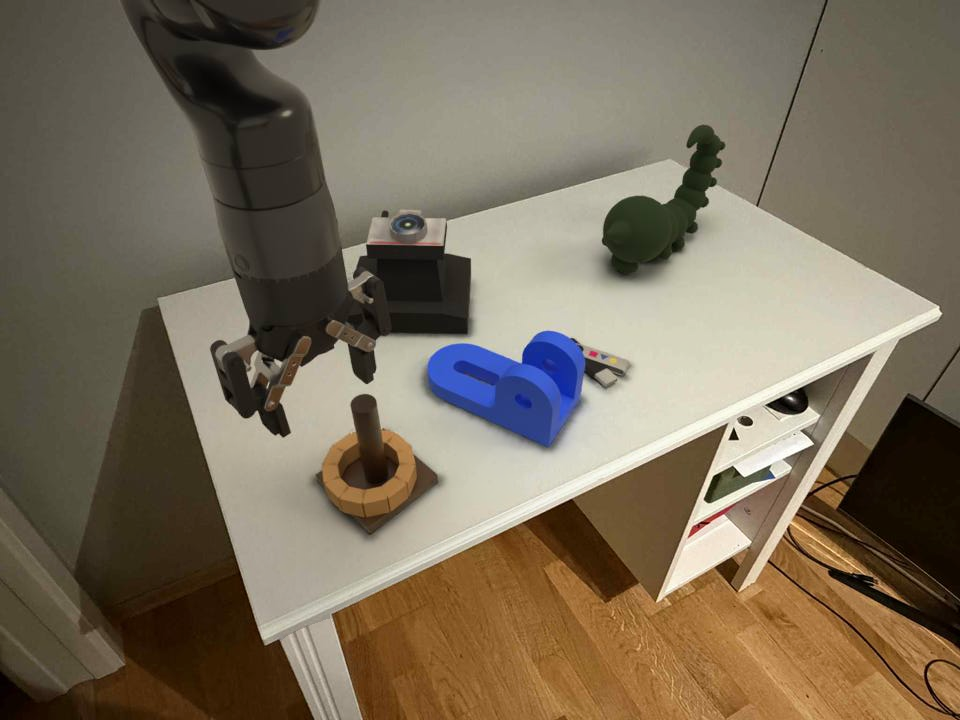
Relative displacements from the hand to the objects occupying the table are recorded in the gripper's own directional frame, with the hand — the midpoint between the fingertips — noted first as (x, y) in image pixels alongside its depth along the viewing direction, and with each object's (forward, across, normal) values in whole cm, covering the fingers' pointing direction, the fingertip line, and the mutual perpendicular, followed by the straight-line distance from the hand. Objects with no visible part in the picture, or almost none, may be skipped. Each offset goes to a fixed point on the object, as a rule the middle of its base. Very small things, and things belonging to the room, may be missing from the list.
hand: (323, 403), depth 55 cm
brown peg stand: (+15, -4, 0) cm, 16 cm away
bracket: (+15, -22, 0) cm, 27 cm away
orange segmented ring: (+14, -3, 0) cm, 14 cm away
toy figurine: (+15, -60, -4) cm, 62 cm away
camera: (+15, -27, -21) cm, 37 cm away
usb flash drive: (+15, -35, +5) cm, 38 cm away
